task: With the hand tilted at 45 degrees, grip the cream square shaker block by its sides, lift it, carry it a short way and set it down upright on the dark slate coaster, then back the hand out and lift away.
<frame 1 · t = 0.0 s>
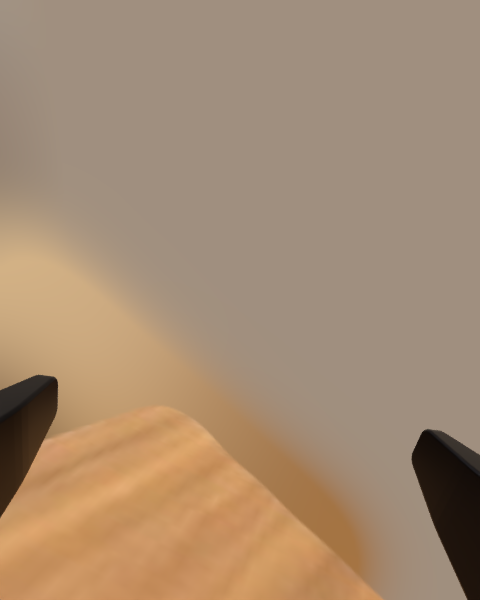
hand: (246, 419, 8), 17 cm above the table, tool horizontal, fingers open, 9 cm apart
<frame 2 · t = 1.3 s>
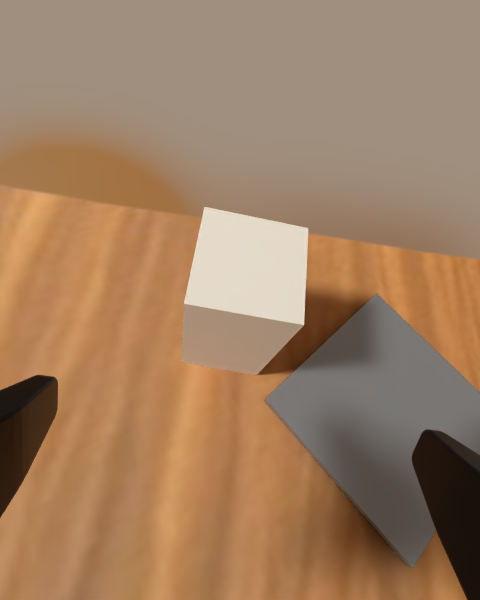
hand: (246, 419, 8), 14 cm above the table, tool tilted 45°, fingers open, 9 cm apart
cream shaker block: (224, 333, 24), on the table
slate coaster: (386, 409, 23), on the table
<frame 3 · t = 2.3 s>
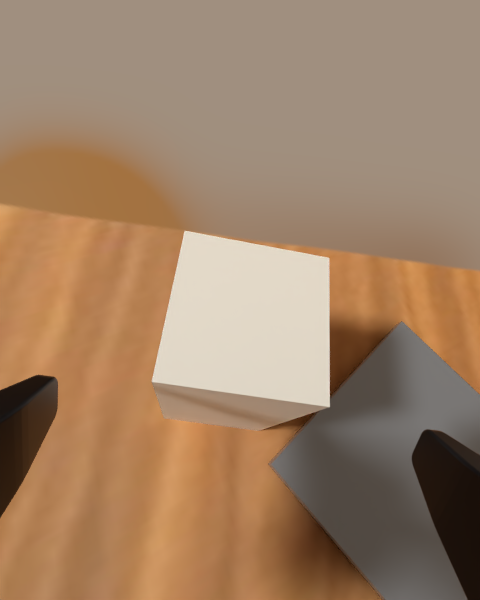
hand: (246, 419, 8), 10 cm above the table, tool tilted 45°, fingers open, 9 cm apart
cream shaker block: (218, 377, 19), on the table
slate coaster: (420, 470, 19), on the table
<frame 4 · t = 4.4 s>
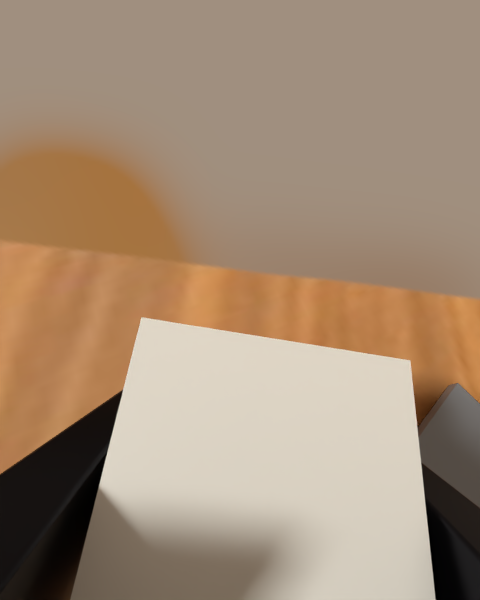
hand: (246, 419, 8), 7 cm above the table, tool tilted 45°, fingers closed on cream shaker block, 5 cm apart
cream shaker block: (213, 472, 14), on the table, touching gripper
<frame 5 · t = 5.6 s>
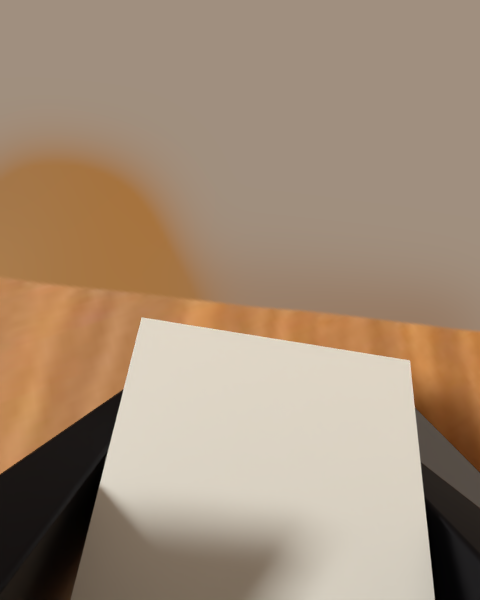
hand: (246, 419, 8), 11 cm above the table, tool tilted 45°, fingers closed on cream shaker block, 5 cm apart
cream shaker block: (213, 472, 14), point 4 cm above the table, touching gripper
slate coaster: (425, 574, 17), on the table
when the fingers open (8 cm above the table, at t = 8.8 s): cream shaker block drops 1 cm, resting on slate coaster.
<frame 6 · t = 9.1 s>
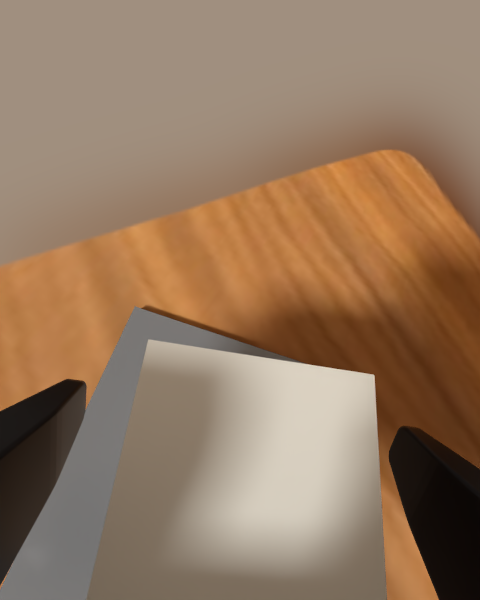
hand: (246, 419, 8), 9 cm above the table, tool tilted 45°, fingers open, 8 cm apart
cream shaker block: (210, 470, 15), point 1 cm above the table, touching slate coaster
slate coaster: (209, 470, 15), on the table
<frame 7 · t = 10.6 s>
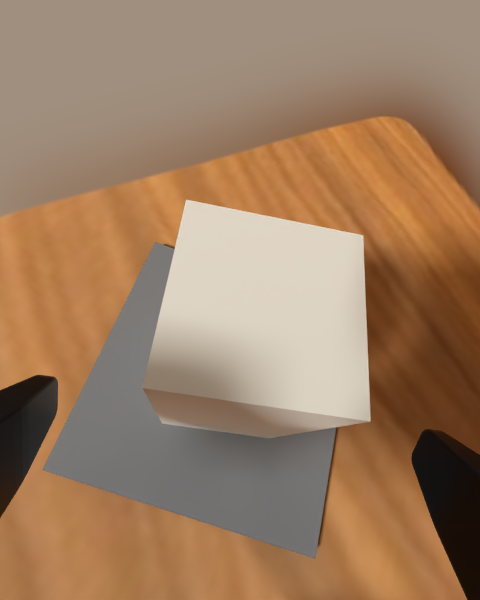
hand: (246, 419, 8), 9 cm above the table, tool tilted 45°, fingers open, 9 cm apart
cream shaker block: (223, 377, 17), point 1 cm above the table, touching slate coaster
slate coaster: (222, 379, 17), on the table
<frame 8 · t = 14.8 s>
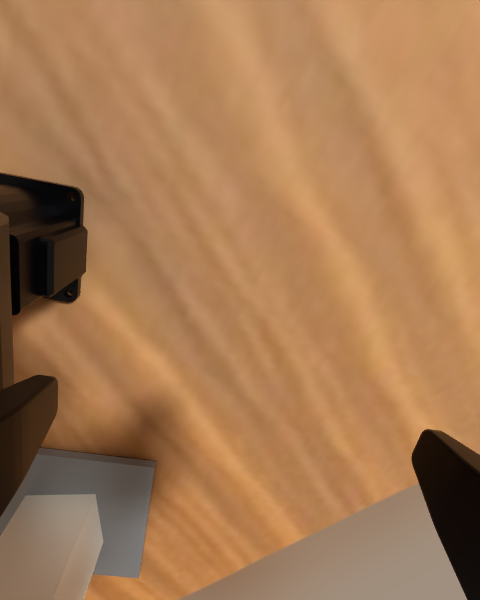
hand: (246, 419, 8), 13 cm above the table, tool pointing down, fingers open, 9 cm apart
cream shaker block: (65, 519, 26), point 1 cm above the table, touching slate coaster
slate coaster: (69, 511, 27), on the table
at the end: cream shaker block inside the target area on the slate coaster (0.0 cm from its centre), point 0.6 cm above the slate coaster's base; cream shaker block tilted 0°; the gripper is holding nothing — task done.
